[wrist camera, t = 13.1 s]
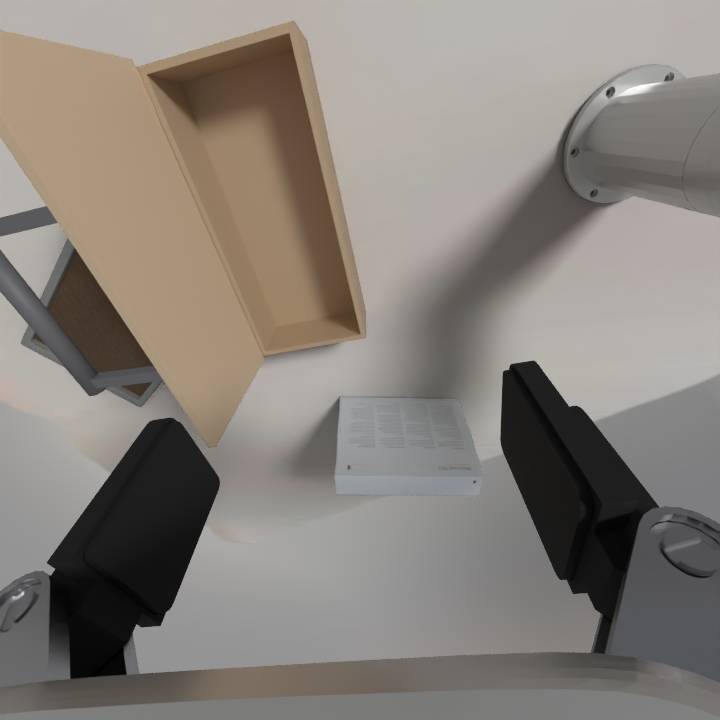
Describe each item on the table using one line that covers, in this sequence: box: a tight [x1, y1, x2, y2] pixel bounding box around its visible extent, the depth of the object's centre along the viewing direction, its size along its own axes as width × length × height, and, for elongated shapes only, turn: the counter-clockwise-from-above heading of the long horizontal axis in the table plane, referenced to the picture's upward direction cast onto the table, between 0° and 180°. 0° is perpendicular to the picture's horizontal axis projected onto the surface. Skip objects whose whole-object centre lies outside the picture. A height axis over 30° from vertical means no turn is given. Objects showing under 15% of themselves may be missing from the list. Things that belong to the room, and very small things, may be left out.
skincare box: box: [334, 397, 485, 496], centre depth 54 cm, size 21×6×16 cm, turn 89°
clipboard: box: [21, 239, 162, 407], centre depth 52 cm, size 19×2×30 cm
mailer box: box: [136, 21, 366, 356], centre depth 40 cm, size 14×30×8 cm, turn 12°
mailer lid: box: [0, 30, 264, 448], centre depth 32 cm, size 15×31×9 cm
